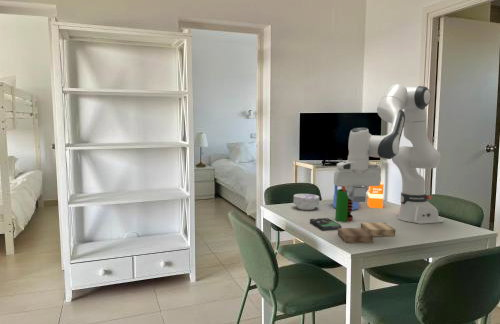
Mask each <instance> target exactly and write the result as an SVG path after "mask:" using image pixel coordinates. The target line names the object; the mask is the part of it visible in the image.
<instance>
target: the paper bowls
mask: <svg viewBox="0 0 500 324" xmlns="http://www.w3.org/2000/svg"><path fill="white" fill-rule="evenodd" d="M292 201H293V204H294V205H296V208H298V209H299V210H301V211H312V210H315V209H316V207H317V206H319V205H320V196H319V195H316V194H314V193H313V194H311V193H295V194H293V200H292Z"/></svg>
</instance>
